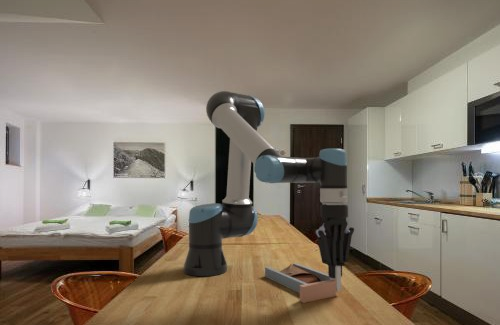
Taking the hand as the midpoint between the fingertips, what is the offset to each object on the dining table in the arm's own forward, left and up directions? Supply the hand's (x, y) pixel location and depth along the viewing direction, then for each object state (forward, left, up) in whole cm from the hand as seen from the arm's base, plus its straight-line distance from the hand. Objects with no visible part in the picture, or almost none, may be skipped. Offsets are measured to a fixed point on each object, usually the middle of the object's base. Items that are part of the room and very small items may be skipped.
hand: (335, 289), depth 93 cm
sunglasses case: (-2, +16, -2) cm, 16 cm away
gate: (-6, 0, -2) cm, 6 cm away
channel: (-2, +14, -2) cm, 14 cm away
